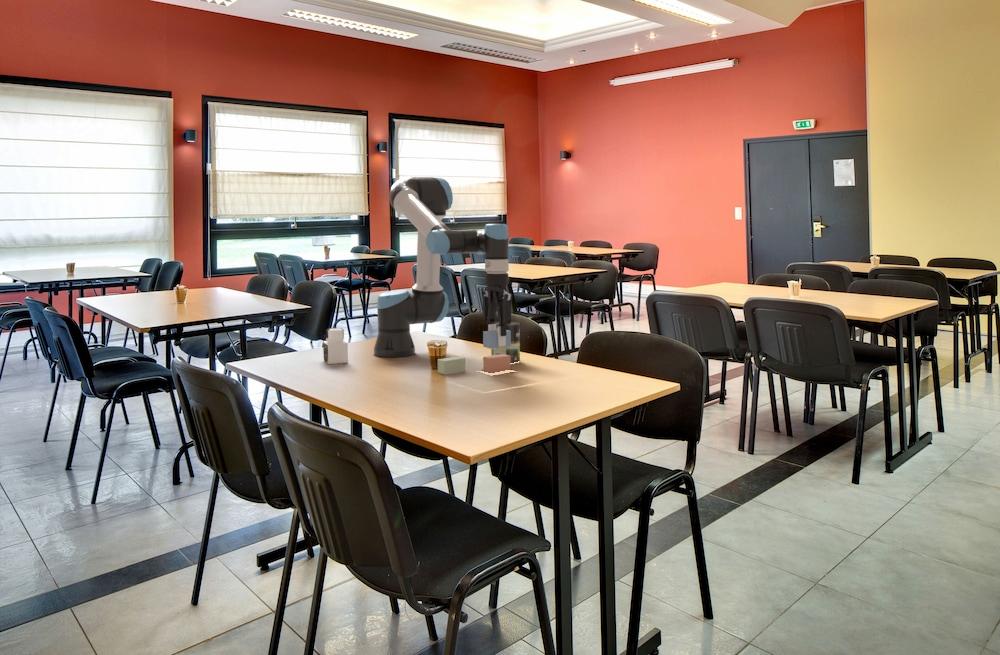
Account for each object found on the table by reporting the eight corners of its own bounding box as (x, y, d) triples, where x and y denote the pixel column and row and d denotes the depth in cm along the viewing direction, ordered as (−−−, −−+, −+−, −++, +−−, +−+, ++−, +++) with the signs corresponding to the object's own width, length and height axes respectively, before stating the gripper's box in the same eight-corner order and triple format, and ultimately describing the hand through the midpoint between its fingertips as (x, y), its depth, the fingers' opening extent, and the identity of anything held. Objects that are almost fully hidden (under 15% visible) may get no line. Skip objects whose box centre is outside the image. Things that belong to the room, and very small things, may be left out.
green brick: (444, 376, 234) (444, 361, 233) (437, 374, 237) (437, 359, 236) (465, 373, 239) (465, 358, 238) (458, 371, 242) (458, 356, 241)
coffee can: (520, 360, 259) (520, 321, 257) (520, 366, 249) (520, 325, 247) (490, 360, 260) (490, 321, 257) (489, 366, 249) (489, 325, 247)
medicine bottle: (323, 361, 259) (322, 327, 258) (343, 359, 262) (342, 326, 261) (327, 364, 253) (326, 330, 251) (348, 362, 256) (347, 328, 254)
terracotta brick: (490, 374, 234) (490, 358, 234) (483, 372, 238) (483, 356, 237) (510, 370, 239) (510, 355, 238) (502, 368, 242) (502, 354, 242)
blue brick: (489, 348, 233) (489, 332, 233) (483, 346, 237) (483, 331, 236) (510, 346, 237) (510, 330, 237) (504, 344, 241) (504, 329, 240)
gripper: (471, 271, 238) (472, 342, 242) (504, 274, 225) (504, 349, 228) (489, 270, 243) (490, 340, 246) (523, 273, 229) (523, 347, 232)
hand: (497, 344), depth 237 cm, fingers closed on blue brick, 4 cm apart
